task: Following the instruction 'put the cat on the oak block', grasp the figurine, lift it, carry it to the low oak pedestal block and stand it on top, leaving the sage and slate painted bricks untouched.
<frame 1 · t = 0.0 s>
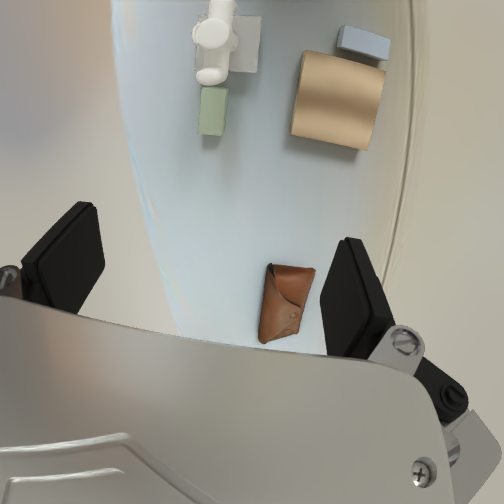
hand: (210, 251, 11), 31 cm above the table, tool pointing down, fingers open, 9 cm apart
oak pedestal: (334, 98, 35), on the table
sunglasses case: (284, 300, 56), on the table
brick sage: (215, 108, 37), on the table
figurine: (231, 44, 32), on the table
brick slate: (360, 43, 30), on the table
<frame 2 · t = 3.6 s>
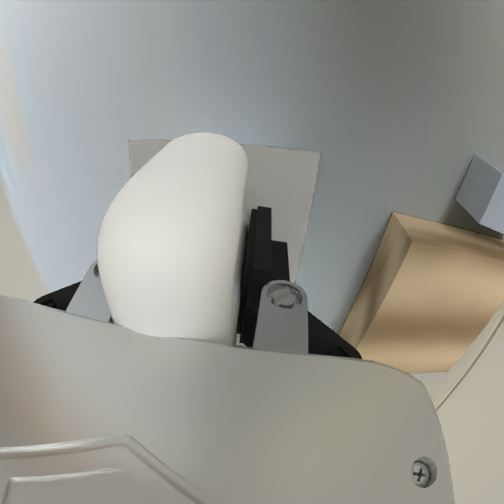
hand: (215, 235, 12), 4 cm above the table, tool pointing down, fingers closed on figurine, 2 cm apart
oak pedestal: (423, 293, 19), on the table
figurine: (228, 190, 16), on the table, touching gripper
brick slate: (493, 191, 14), on the table
when the fingers open (8 cm above the table, at t = 8.4 s): figurine drops 1 cm, resting on oak pedestal.
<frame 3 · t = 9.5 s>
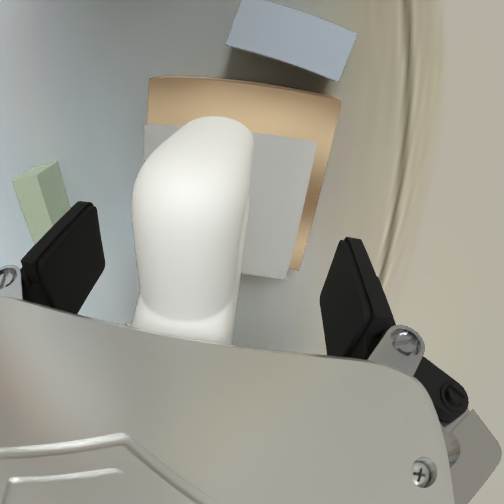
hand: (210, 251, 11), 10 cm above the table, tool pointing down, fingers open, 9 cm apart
oak pedestal: (236, 164, 19), on the table
brick sage: (55, 196, 21), on the table
figurine: (230, 176, 17), point 3 cm above the table, touching oak pedestal
brick slate: (288, 40, 15), on the table
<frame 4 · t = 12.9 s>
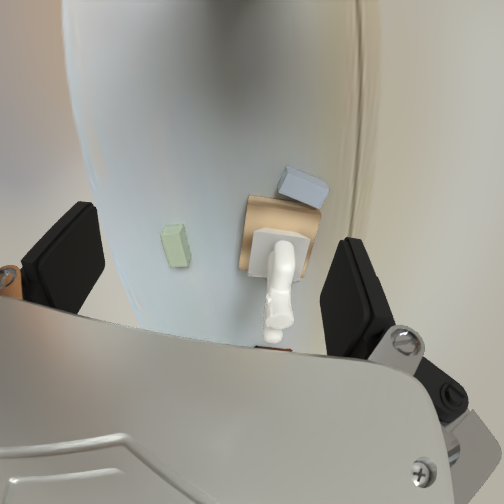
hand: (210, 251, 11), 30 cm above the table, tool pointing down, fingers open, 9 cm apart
oak pedestal: (277, 233, 46), on the table
brick sage: (179, 240, 48), on the table
figurine: (277, 242, 44), point 3 cm above the table, touching oak pedestal
brick slate: (302, 182, 41), on the table
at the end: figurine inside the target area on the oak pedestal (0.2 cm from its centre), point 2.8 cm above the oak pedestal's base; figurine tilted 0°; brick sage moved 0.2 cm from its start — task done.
